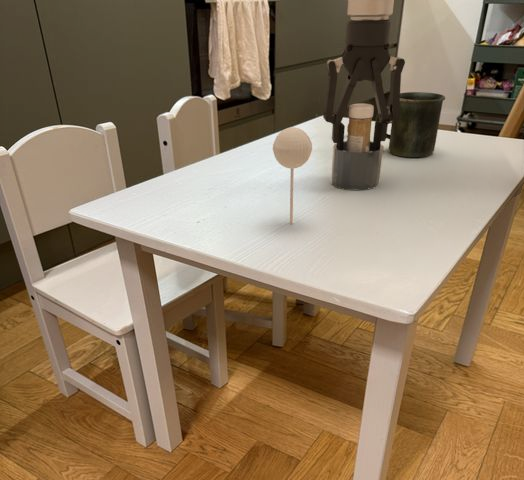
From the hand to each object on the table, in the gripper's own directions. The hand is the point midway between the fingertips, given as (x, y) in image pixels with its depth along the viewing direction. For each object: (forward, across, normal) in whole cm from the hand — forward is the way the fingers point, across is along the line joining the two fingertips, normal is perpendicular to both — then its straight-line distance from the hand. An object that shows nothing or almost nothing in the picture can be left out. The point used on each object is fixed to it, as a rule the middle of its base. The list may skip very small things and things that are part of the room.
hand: (357, 159), depth 98 cm
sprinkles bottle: (+4, 0, 0) cm, 4 cm away
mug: (+5, -16, -21) cm, 27 cm away
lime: (+5, -8, -37) cm, 38 cm away
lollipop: (+5, +15, +20) cm, 25 cm away
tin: (+5, 0, 0) cm, 5 cm away
